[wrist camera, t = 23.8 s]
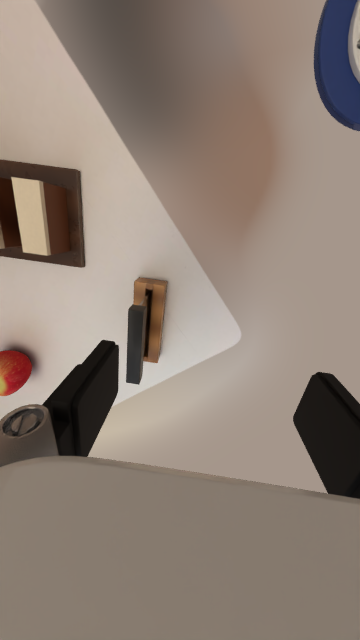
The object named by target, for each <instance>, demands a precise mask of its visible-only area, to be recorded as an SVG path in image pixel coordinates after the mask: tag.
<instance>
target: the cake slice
mask: <svg viewBox="0 0 360 640" xmlns="http://www.w3.org/2000/svg"><path fill="white" fill-rule="evenodd" d="M11 179H12V185H13V191H14V198H15V204H16V210H17V216H18V223H19V229H20V235H21V242H22V248H23V252H25V253H32V254H39V255H46V256H48V255H53V254H58V253H63V252H68V251H70V240H69V227H68V213H67V200H66V189H65V188H63V187H59V186H56V185H52V184H49V183H45V182H42V181H38V180H31V179H23V178H16V177H11Z"/></svg>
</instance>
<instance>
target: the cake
mask: <svg viewBox="0 0 360 640" xmlns="http://www.w3.org/2000/svg"><path fill="white" fill-rule="evenodd" d="M11 177H16V178H23V179H31V180H38V181H42V182H45V183H49V184H52V185H56V186H59V187H63V188H65V189H66V200H67V213H68V227H69V240H70V251H68V252H63V253H58V254H53V255H48V256H46V255H39V254H32V253H25V252H23V248H22V242H21V235H20V229H19V223H18V216H17V210H16V204H15V198H14V191H13V185H12V179H11ZM0 256H4V257H11V258H18V259H25V260H32V261H39V262H46V263H53V264H60V265H67V266H74V267H81V268H82V267H85V262H84V242H83V222H82V203H81V183H80V171H78V170H75V169H67V168H60V167H52V166H45V165H37V164H30V163H22V162H15V161H7V160H0Z"/></svg>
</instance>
